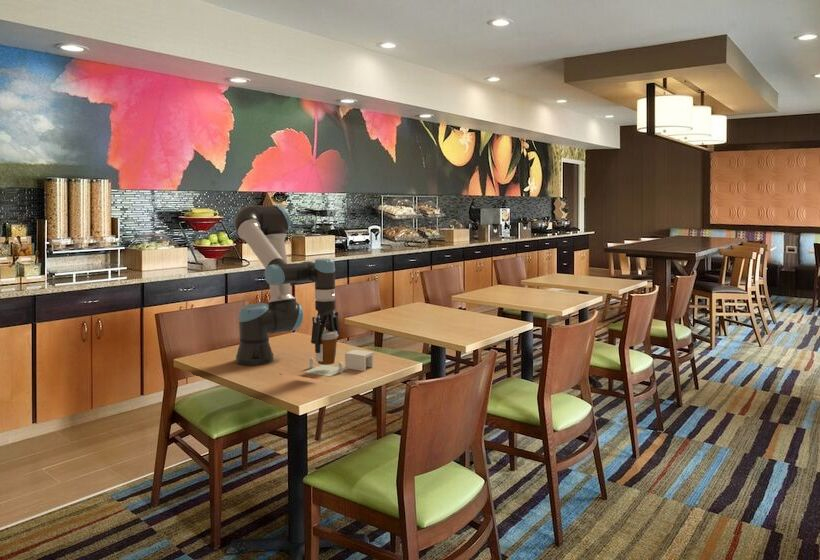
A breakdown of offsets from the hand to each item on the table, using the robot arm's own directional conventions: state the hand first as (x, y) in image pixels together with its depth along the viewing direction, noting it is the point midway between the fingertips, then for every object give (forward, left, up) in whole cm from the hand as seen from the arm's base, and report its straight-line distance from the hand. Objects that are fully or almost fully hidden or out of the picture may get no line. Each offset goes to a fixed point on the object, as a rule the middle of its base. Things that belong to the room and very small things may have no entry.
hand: (326, 358), depth 241 cm
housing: (+9, +10, -5) cm, 14 cm away
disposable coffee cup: (0, 0, -2) cm, 2 cm away
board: (+3, +4, -6) cm, 8 cm away
